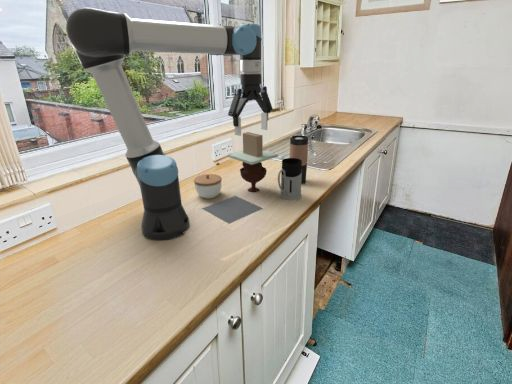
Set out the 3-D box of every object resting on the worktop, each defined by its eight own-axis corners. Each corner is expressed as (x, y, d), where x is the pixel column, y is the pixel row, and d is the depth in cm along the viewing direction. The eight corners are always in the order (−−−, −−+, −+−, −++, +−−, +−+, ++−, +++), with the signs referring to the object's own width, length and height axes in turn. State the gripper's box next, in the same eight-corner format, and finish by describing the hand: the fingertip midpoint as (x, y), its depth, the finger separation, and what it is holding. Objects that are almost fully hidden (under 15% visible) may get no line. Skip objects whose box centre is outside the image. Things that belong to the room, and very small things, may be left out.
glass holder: (305, 195, 126) (307, 159, 120) (288, 209, 115) (289, 170, 109) (286, 190, 131) (287, 156, 125) (268, 203, 120) (268, 166, 114)
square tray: (229, 225, 105) (228, 223, 105) (201, 209, 116) (201, 208, 116) (263, 209, 115) (263, 208, 115) (235, 197, 126) (235, 195, 126)
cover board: (251, 164, 116) (251, 140, 112) (227, 156, 125) (226, 134, 122) (277, 156, 124) (278, 134, 121) (253, 149, 134) (253, 128, 130)
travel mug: (309, 183, 138) (311, 138, 130) (293, 186, 135) (295, 140, 127) (300, 177, 144) (302, 134, 136) (285, 180, 142) (286, 136, 134)
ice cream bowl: (264, 197, 125) (264, 161, 119) (237, 195, 127) (235, 160, 121) (268, 187, 134) (268, 153, 129) (243, 185, 137) (242, 152, 131)
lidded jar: (190, 199, 125) (187, 177, 121) (205, 189, 133) (203, 168, 130) (213, 204, 120) (211, 181, 117) (227, 193, 129) (226, 172, 126)
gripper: (230, 74, 102) (232, 139, 110) (282, 72, 118) (280, 128, 126) (216, 74, 107) (219, 135, 116) (268, 71, 123) (267, 126, 131)
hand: (251, 132), depth 121 cm, fingers open, 13 cm apart
